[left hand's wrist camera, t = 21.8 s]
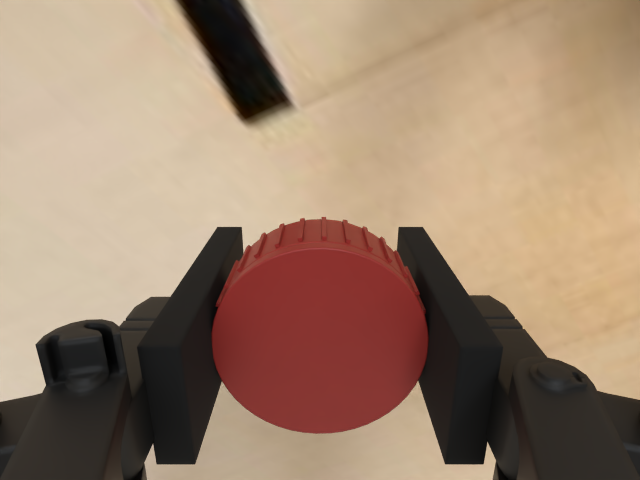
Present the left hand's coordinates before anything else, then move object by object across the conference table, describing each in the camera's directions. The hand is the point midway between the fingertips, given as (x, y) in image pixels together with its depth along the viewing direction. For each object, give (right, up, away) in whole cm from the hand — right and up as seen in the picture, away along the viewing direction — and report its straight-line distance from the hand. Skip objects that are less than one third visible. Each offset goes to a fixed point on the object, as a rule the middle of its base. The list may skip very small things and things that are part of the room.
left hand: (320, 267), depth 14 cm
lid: (0, -1, -4) cm, 4 cm away
